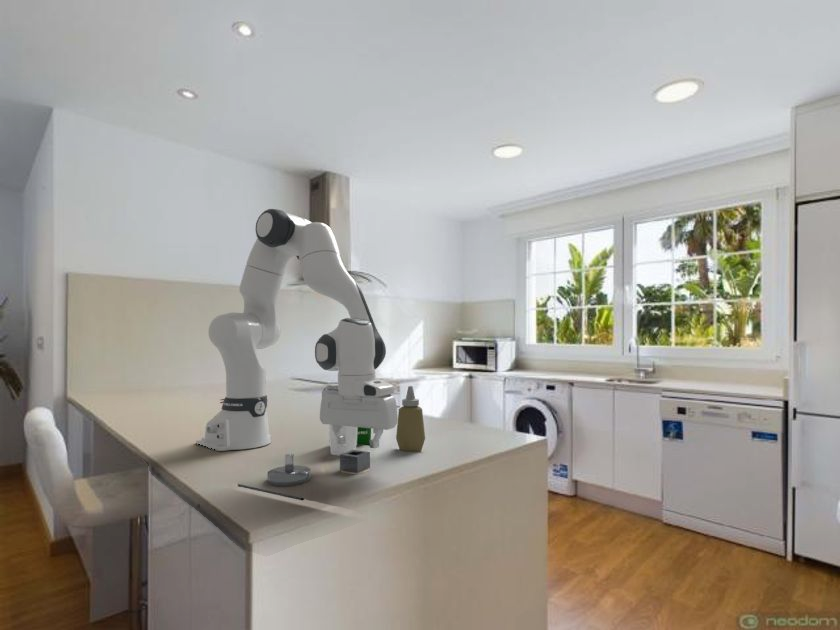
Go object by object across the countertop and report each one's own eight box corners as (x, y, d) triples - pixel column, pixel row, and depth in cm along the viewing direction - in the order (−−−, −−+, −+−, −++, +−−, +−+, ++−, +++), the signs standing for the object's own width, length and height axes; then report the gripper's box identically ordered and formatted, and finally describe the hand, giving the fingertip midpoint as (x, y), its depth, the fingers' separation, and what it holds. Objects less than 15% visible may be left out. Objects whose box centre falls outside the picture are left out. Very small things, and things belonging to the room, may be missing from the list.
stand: (333, 475, 104) (333, 459, 104) (351, 467, 110) (351, 452, 110) (358, 479, 101) (358, 463, 101) (375, 471, 107) (375, 456, 107)
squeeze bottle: (391, 453, 123) (391, 387, 123) (403, 447, 130) (403, 384, 131) (418, 456, 120) (418, 388, 120) (429, 449, 127) (429, 385, 128)
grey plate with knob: (237, 486, 97) (238, 456, 97) (279, 471, 107) (279, 444, 108) (301, 500, 88) (301, 467, 89) (339, 482, 99) (339, 453, 99)
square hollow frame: (339, 470, 105) (339, 454, 105) (352, 464, 109) (352, 449, 109) (357, 473, 102) (357, 457, 102) (369, 467, 107) (369, 452, 107)
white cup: (352, 460, 116) (352, 421, 117) (323, 459, 118) (323, 420, 118) (362, 452, 124) (362, 416, 124) (335, 451, 126) (335, 415, 126)
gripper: (313, 386, 109) (314, 444, 108) (385, 389, 99) (386, 453, 98) (330, 383, 114) (331, 439, 114) (400, 386, 105) (401, 446, 104)
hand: (357, 445), depth 106 cm, fingers open, 8 cm apart
